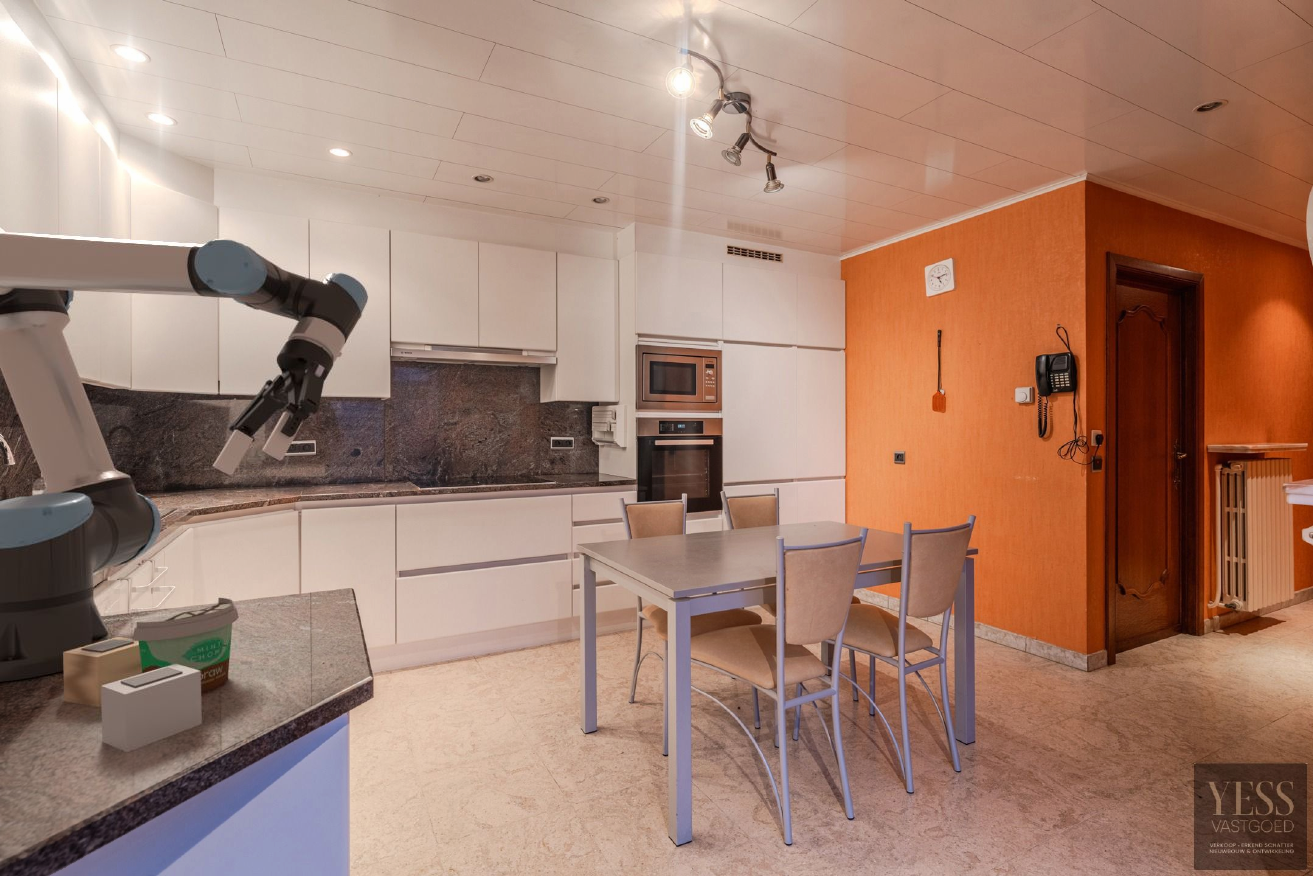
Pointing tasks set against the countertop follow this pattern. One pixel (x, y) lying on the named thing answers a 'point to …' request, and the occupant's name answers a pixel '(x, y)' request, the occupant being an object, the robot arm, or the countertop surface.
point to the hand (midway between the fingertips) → (246, 463)
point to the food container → (191, 643)
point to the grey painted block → (150, 706)
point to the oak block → (98, 668)
